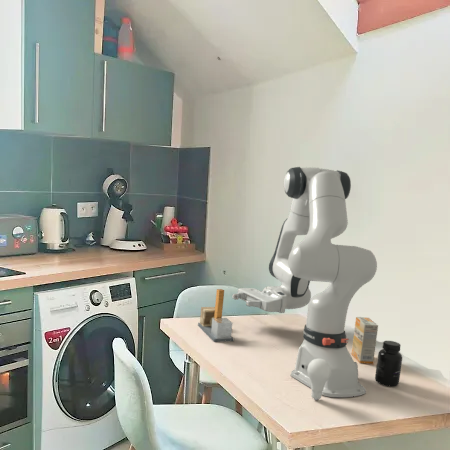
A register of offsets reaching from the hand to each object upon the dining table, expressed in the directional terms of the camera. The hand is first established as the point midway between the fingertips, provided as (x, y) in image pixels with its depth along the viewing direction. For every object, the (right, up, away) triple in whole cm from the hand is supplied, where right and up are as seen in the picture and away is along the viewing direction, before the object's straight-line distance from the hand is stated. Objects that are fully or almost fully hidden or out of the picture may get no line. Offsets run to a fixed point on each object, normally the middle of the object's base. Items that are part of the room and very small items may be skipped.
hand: (240, 300), depth 186 cm
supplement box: (+40, -18, -14) cm, 46 cm away
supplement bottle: (+42, -20, -32) cm, 57 cm away
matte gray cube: (-7, -11, -7) cm, 15 cm away
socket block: (-11, -10, +4) cm, 15 cm away
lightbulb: (+18, -19, -49) cm, 56 cm away
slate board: (-9, -11, -2) cm, 15 cm away
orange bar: (-8, -10, -5) cm, 13 cm away
